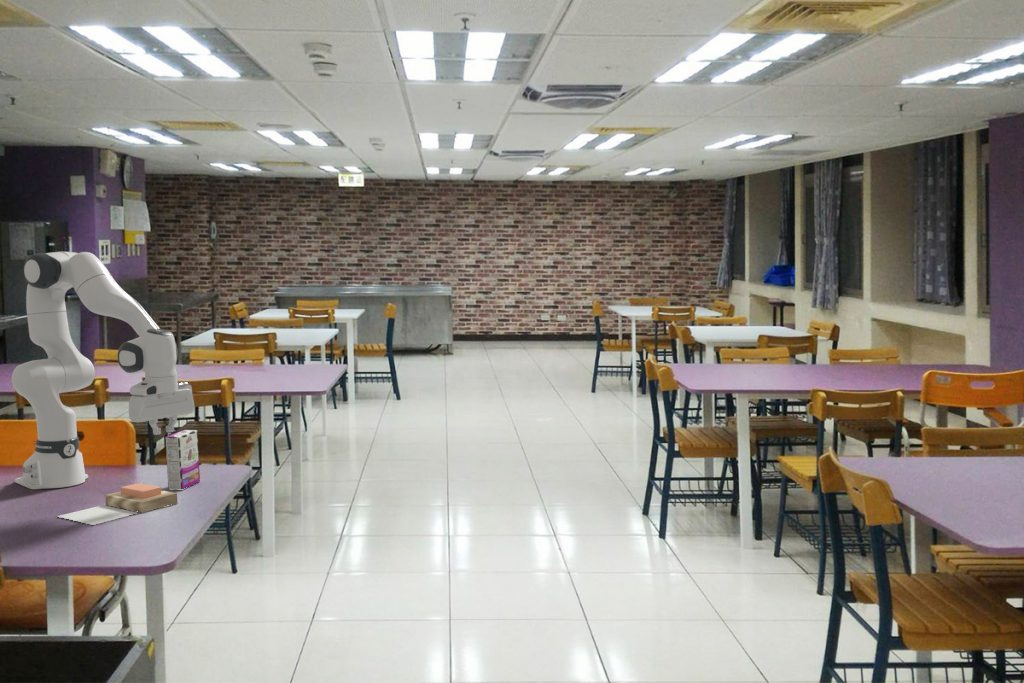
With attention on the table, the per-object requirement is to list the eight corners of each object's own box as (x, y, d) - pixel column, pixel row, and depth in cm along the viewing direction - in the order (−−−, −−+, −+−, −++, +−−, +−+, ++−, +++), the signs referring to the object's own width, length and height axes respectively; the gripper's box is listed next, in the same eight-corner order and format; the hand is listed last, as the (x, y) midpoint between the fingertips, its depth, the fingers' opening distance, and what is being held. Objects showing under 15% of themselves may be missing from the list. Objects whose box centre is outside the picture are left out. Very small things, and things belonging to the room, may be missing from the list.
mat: (56, 517, 282) (56, 516, 282) (102, 506, 294) (102, 505, 294) (92, 525, 273) (92, 524, 273) (138, 514, 285) (138, 512, 285)
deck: (105, 505, 294) (105, 495, 294) (141, 496, 304) (141, 486, 304) (141, 513, 285) (140, 502, 285) (177, 503, 295) (177, 493, 295)
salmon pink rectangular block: (121, 494, 295) (120, 487, 295) (139, 489, 300) (138, 483, 300) (143, 498, 289) (143, 491, 289) (161, 494, 294) (161, 487, 294)
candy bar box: (185, 481, 323) (183, 429, 321) (200, 482, 322) (198, 430, 320) (166, 490, 312) (164, 436, 310) (182, 491, 311) (179, 436, 309)
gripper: (184, 380, 309) (185, 426, 310) (124, 389, 292) (126, 437, 293) (198, 382, 306) (199, 428, 307) (138, 390, 289) (140, 440, 290)
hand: (163, 433), depth 300 cm, fingers open, 3 cm apart
